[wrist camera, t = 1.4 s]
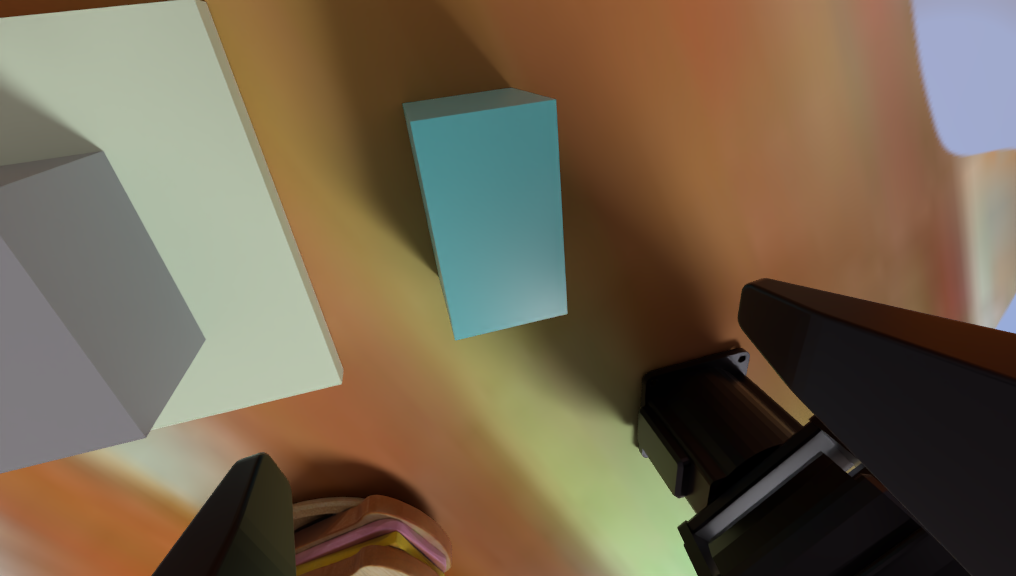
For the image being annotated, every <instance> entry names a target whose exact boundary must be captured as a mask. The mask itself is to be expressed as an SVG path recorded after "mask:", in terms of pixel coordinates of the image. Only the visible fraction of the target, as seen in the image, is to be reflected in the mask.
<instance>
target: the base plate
mask: <svg viewBox="0 0 1016 576" xmlns="http://www.w3.org/2000/svg"><path fill="white" fill-rule="evenodd" d="M99 151H104V153H105V155H106V157H107V159H108V160H109V162H110V164H111V166H112V168H113V170H114V171H115V173H116V175H117V177H118V179H119V181H120V182H121V184H122V186H123V188H124V190H125V192H126V193H127V195H128V197H129V199H130V201H131V203H132V204H133V206H134V208H135V210H136V212H137V214H138V216H139V217H140V219H141V221H142V223H143V225H144V227H145V228H146V230H147V232H148V234H149V236H150V238H151V239H152V241H153V243H154V245H155V247H156V249H157V250H158V252H159V254H160V256H161V258H162V260H163V261H164V263H165V265H166V267H167V269H168V271H169V273H170V274H171V276H172V278H173V280H174V282H175V284H176V285H177V287H178V289H179V291H180V293H181V295H182V296H183V298H184V300H185V302H186V304H187V306H188V307H189V309H190V311H191V313H192V315H193V317H194V318H195V320H196V322H197V324H198V326H199V328H200V329H201V331H202V333H203V335H204V337H205V339H206V340H205V342H204V344H203V345H202V347H201V349H200V350H199V352H198V353H197V355H196V357H195V358H194V360H193V362H192V363H191V365H190V367H189V368H188V370H187V371H186V373H185V375H184V376H183V378H182V380H181V381H180V383H179V385H178V386H177V388H176V389H175V391H174V393H173V394H172V396H171V398H170V399H169V401H168V402H167V404H166V406H165V407H164V409H163V411H162V412H161V414H160V416H159V417H158V419H157V420H156V422H155V424H154V425H153V427H152V429H151V430H154V429H158V428H162V427H166V426H171V425H175V424H179V423H183V422H187V421H191V420H195V419H199V418H204V417H208V416H212V415H216V414H220V413H224V412H228V411H232V410H236V409H241V408H245V407H249V406H253V405H257V404H261V403H265V402H269V401H274V400H278V399H282V398H286V397H290V396H294V395H298V394H302V393H307V392H311V391H315V390H319V389H323V388H327V387H331V386H335V385H339V384H342V378H343V367H342V364H341V362H340V359H339V356H338V354H337V351H336V348H335V346H334V343H333V340H332V338H331V335H330V332H329V330H328V327H327V324H326V322H325V319H324V316H323V314H322V311H321V308H320V306H319V303H318V300H317V298H316V295H315V292H314V289H313V287H312V284H311V281H310V279H309V276H308V273H307V271H306V268H305V265H304V263H303V260H302V257H301V255H300V252H299V249H298V247H297V244H296V241H295V239H294V236H293V233H292V231H291V228H290V225H289V223H288V220H287V217H286V215H285V212H284V209H283V207H282V204H281V201H280V198H279V196H278V193H277V190H276V188H275V185H274V182H273V180H272V177H271V174H270V172H269V169H268V166H267V164H266V161H265V158H264V156H263V153H262V150H261V148H260V145H259V142H258V140H257V137H256V134H255V132H254V129H253V126H252V124H251V121H250V118H249V115H248V113H247V110H246V107H245V105H244V102H243V99H242V97H241V94H240V91H239V89H238V86H237V83H236V81H235V78H234V75H233V73H232V70H231V67H230V65H229V62H228V59H227V57H226V54H225V51H224V49H223V46H222V43H221V41H220V38H219V35H218V32H217V30H216V27H215V24H214V22H213V19H212V16H211V14H210V11H209V8H208V6H207V3H206V2H204V1H201V0H174V1H164V2H154V3H144V4H134V5H124V6H114V7H104V8H95V9H85V10H75V11H65V12H55V13H45V14H35V15H25V16H15V17H5V18H0V166H4V165H11V164H17V163H24V162H31V161H38V160H44V159H51V158H58V157H65V156H71V155H78V154H85V153H92V152H99Z"/></svg>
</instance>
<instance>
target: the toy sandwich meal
mask: <svg viewBox="0 0 1016 576" xmlns="http://www.w3.org/2000/svg"><path fill="white" fill-rule="evenodd" d="M293 522H294V540H295V558H296V576H445V575H444V572H446V571H448V570H449V569H450V568H451V565H452V545H451V541H450V539H449V537H448V536H447V534H446V532H445V531H444V530H443V529H442V528H441V526H440V525H439V524H437V523H436V522H435V521H434V520H433V519H432V518H430V517H429V516H428V515H426V514H425V513H423V512H422V511H420V510H418V509H417V508H415V507H413V506H411V505H409V504H407V503H404V502H402V501H400V500H397V499H394V498H391V497H387V496H382V495H371V496H368V497H367V498H366V499H364V498H354V497H330V498H320V499H314V500H308V501H303V502H299V503H295V504H293Z"/></svg>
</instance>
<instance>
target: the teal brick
mask: <svg viewBox="0 0 1016 576" xmlns="http://www.w3.org/2000/svg"><path fill="white" fill-rule="evenodd" d="M402 105H403V110H404V114H405V119H406V124H407V129H408V133H409V138H410V143H411V148H412V152H413V157H414V162H415V166H416V171H417V176H418V181H419V185H420V190H421V195H422V200H423V204H424V209H425V214H426V219H427V223H428V228H429V233H430V237H431V242H432V247H433V252H434V256H435V261H436V266H437V271H438V275H439V280H440V283H441V287H442V291H443V295H444V299H445V303H446V307H447V310H448V314H449V318H450V322H451V326H452V330H453V334H454V337H455V340H459V339H464V338H468V337H472V336H476V335H480V334H485V333H489V332H493V331H497V330H502V329H506V328H510V327H514V326H518V325H523V324H527V323H531V322H535V321H540V320H544V319H548V318H552V317H556V316H561V315H565V314H568V312H567V293H566V275H565V256H564V237H563V219H562V200H561V181H560V163H559V144H558V125H557V107H556V99H553V98H549V97H545V96H542V95H538V94H534V93H530V92H526V91H523V90H519V89H515V88H504V89H497V90H491V91H484V92H477V93H470V94H463V95H456V96H450V97H443V98H436V99H429V100H422V101H415V102H409V103H402Z"/></svg>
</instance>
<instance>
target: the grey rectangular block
mask: <svg viewBox="0 0 1016 576" xmlns="http://www.w3.org/2000/svg"><path fill="white" fill-rule="evenodd" d="M205 340H206V339H205V337H204V335H203V333H202V331H201V329H200V328H199V326H198V324H197V322H196V320H195V318H194V317H193V315H192V313H191V311H190V309H189V307H188V306H187V304H186V302H185V300H184V298H183V296H182V295H181V293H180V291H179V289H178V287H177V285H176V284H175V282H174V280H173V278H172V276H171V274H170V273H169V271H168V269H167V267H166V265H165V263H164V261H163V260H162V258H161V256H160V254H159V252H158V250H157V249H156V247H155V245H154V243H153V241H152V239H151V238H150V236H149V234H148V232H147V230H146V228H145V227H144V225H143V223H142V221H141V219H140V217H139V216H138V214H137V212H136V210H135V208H134V206H133V204H132V203H131V201H130V199H129V197H128V195H127V193H126V192H125V190H124V188H123V186H122V184H121V182H120V181H119V179H118V177H117V175H116V173H115V171H114V170H113V168H112V166H111V164H110V162H109V160H108V159H107V157H106V155H105V153H104V151H99V152H92V153H85V154H78V155H71V156H65V157H58V158H51V159H44V160H38V161H31V162H24V163H17V164H11V165H4V166H0V473H4V472H8V471H12V470H16V469H20V468H24V467H29V466H33V465H37V464H41V463H45V462H49V461H53V460H57V459H61V458H65V457H69V456H73V455H78V454H82V453H86V452H90V451H94V450H98V449H102V448H106V447H110V446H114V445H118V444H122V443H127V442H131V441H135V440H139V439H143V438H146V437H147V435H148V434H149V432H150V430H151V429H152V427H153V425H154V424H155V422H156V420H157V419H158V417H159V416H160V414H161V412H162V411H163V409H164V407H165V406H166V404H167V402H168V401H169V399H170V398H171V396H172V394H173V393H174V391H175V389H176V388H177V386H178V385H179V383H180V381H181V380H182V378H183V376H184V375H185V373H186V371H187V370H188V368H189V367H190V365H191V363H192V362H193V360H194V358H195V357H196V355H197V353H198V352H199V350H200V349H201V347H202V345H203V344H204V342H205Z"/></svg>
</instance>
